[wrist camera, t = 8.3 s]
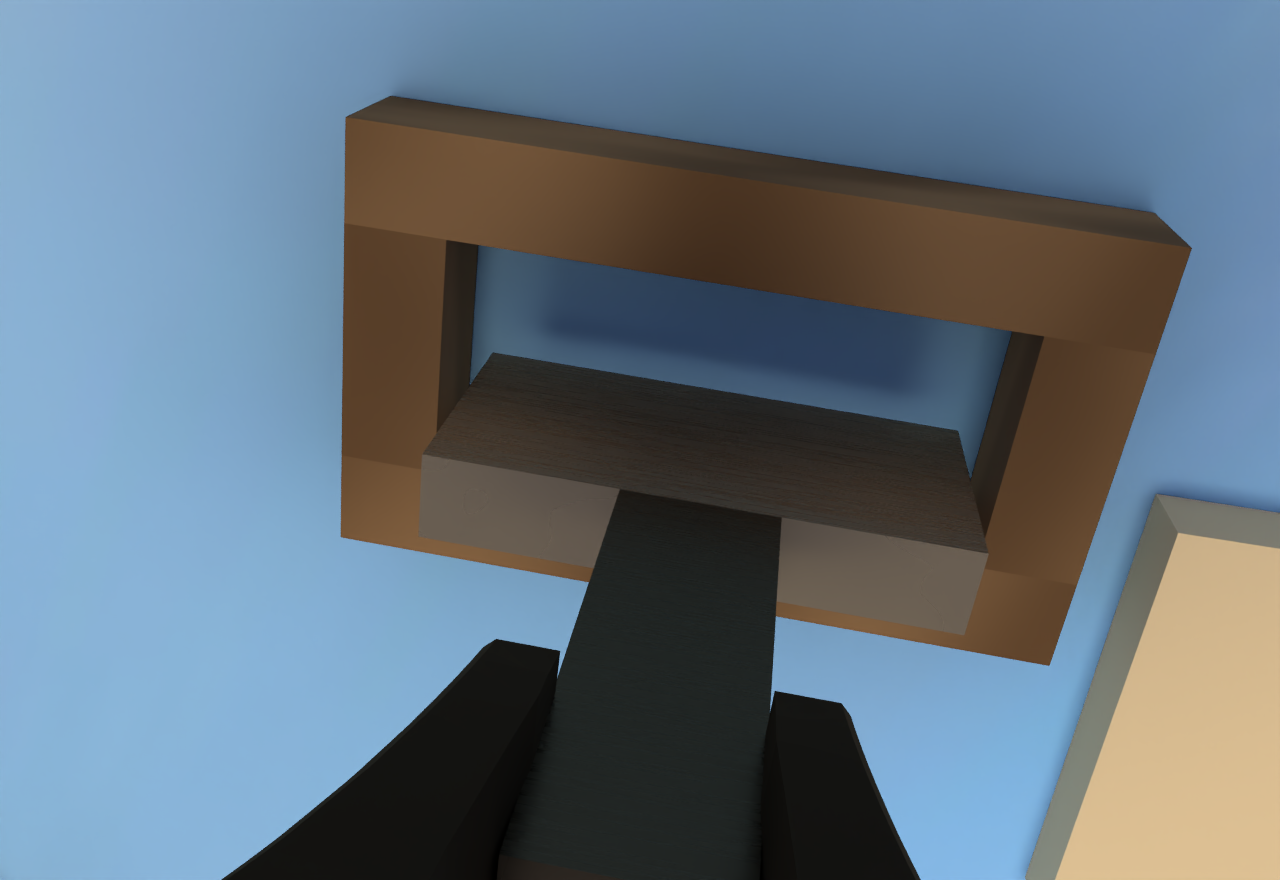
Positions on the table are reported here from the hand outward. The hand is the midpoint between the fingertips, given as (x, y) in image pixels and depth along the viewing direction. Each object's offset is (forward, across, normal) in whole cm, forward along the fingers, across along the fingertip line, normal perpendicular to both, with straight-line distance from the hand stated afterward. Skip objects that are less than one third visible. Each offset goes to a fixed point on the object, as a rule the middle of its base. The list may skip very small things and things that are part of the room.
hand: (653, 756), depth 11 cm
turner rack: (+10, 0, 0) cm, 10 cm away
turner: (+8, 0, 0) cm, 8 cm away
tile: (+10, -11, +1) cm, 15 cm away
